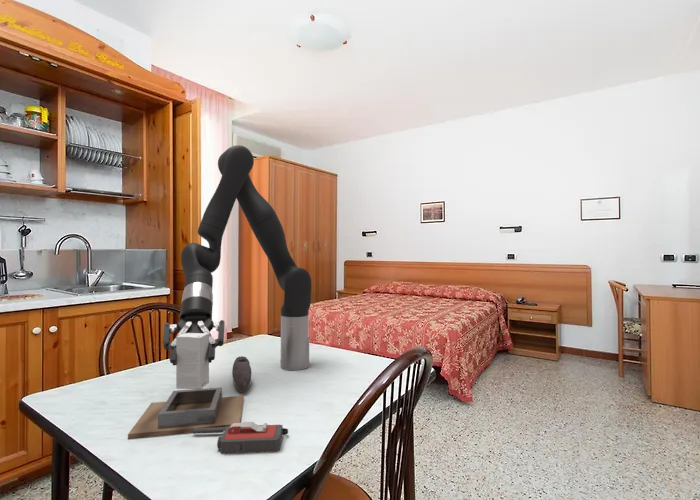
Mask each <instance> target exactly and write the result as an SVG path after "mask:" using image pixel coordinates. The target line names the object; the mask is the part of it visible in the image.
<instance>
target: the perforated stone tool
mask: <svg viewBox="0 0 700 500" xmlns="http://www.w3.org/2000/svg"><path fill="white" fill-rule="evenodd" d="M250 363H251V362H250V361H249V358H247V357H246V356H238V357H236V358H235V359H234V362H233V365H232V371H231V372H232V373H231V374H232V380H233V384H235V387H236V389H237V391H239V392H241V393H243V392H244V393H245V392H246V391H247V390H248V389H249V387H250V384H251V382H252V367H251V364H250Z"/></svg>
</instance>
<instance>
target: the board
mask: <svg viewBox="0 0 700 500" xmlns="http://www.w3.org/2000/svg"><path fill="white" fill-rule="evenodd" d="M244 396H245V395H234V396H222V400H221V404H220V407H219V410H218V414H217V417H216V421H215V423H213V424H202V425H191V426H180V427H169V428H159V429H158V414H159V412H160V411H161V409H162V408H163V406H164V405H165V403H166V401H158V402H155V401H154V402H151V403H150V404H149V405H148V407H147V408H146V409H145V411H144V412H143V413H142V414H141V415H140V417H139V419H138V420H137V422H136V423H134V425H133V426H132V428H131V429H130V431H129V432H128V434H127V439H128V440H132V439H142V438H151V437H152V438H153V437H154V438H155V437H161V436H162V437H164V436H173V435H182V434H184V435H185V434H194V433H193V429H194V428H221V427H228V426H231V424H232V423H234V422H241V420H242V413H243V406H244V399H245V398H244ZM211 403H212V402H204V403H191V404H179V405H177V406H176V408H175V410H174V411H178V410H190V409H202V408H210V406H211Z"/></svg>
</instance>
